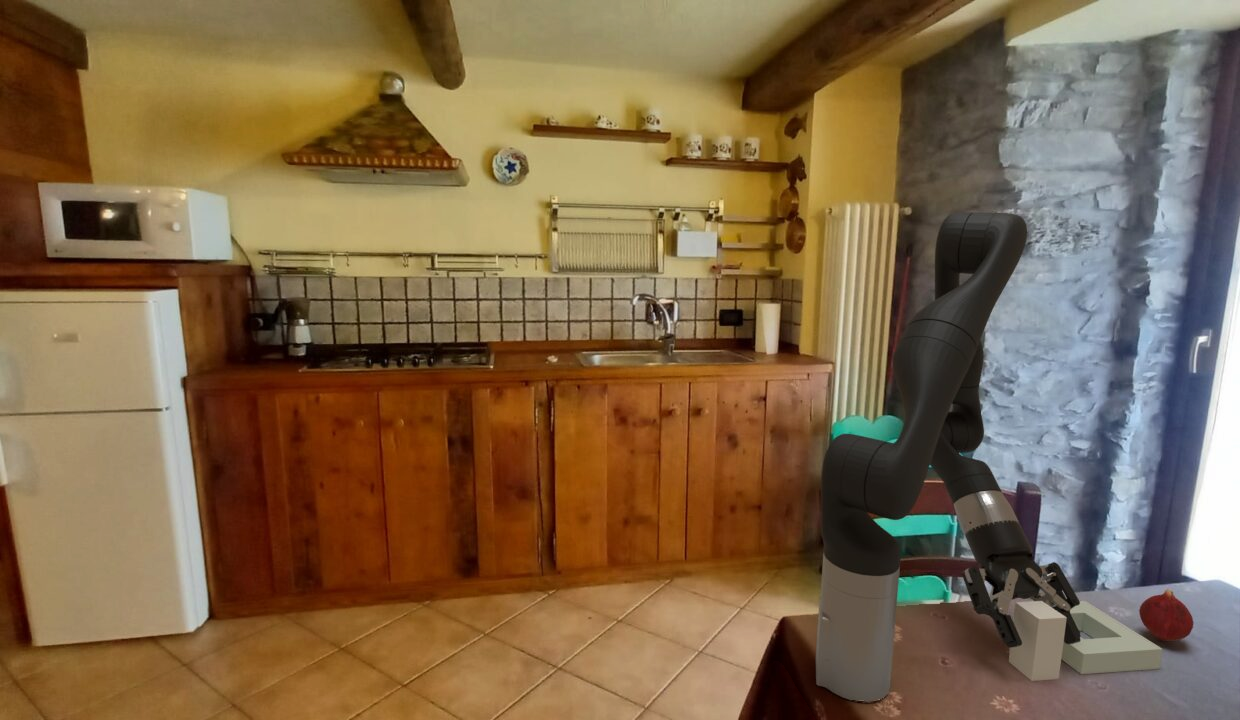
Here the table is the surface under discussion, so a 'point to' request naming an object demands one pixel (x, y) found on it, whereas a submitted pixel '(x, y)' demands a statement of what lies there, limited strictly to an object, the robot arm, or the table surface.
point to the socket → (1108, 645)
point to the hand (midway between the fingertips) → (1045, 644)
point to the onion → (1166, 617)
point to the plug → (1038, 640)
